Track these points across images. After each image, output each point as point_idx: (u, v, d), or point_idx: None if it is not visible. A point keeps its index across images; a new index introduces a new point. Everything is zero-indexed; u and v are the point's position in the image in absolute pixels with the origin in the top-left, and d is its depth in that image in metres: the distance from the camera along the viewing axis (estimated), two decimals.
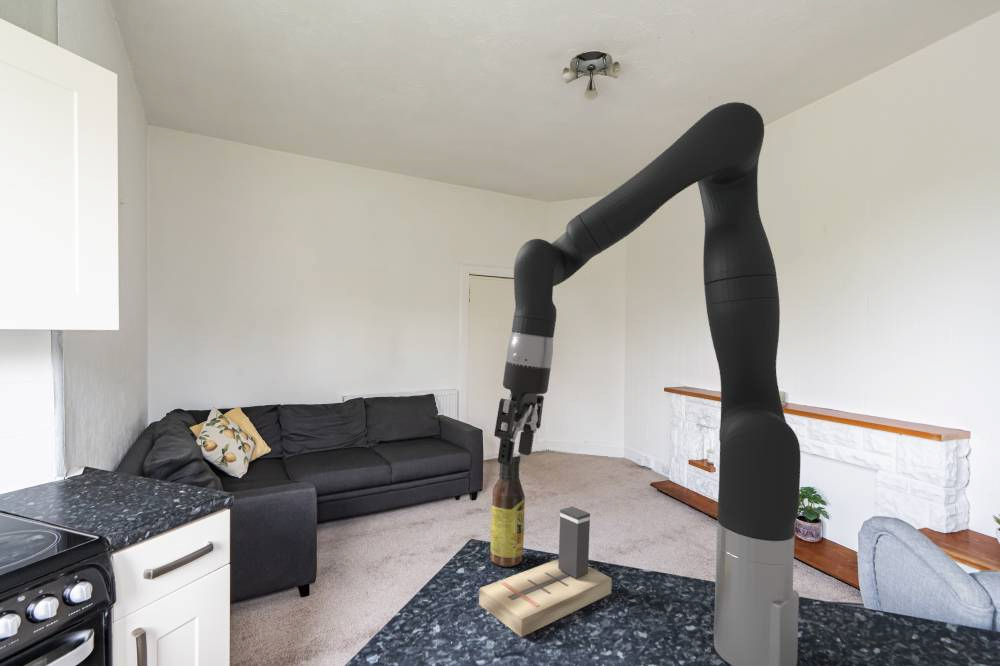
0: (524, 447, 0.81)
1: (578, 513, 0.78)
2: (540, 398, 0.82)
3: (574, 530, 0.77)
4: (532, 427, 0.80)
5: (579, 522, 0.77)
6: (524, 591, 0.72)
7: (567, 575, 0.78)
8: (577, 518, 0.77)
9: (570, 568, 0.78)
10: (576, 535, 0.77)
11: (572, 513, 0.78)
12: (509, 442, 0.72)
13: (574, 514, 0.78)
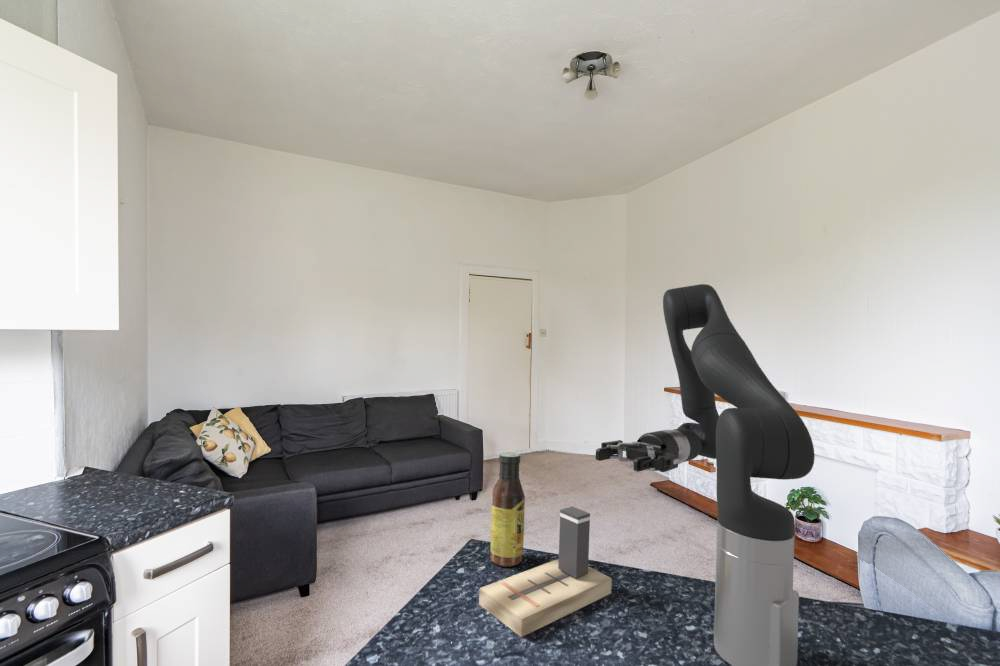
0: None
1: (578, 513, 0.78)
2: None
3: (574, 530, 0.77)
4: (648, 455, 0.87)
5: (579, 522, 0.77)
6: (524, 591, 0.72)
7: (567, 575, 0.78)
8: (577, 518, 0.77)
9: (570, 568, 0.78)
10: (576, 535, 0.77)
11: (572, 513, 0.78)
12: None
13: (574, 514, 0.78)
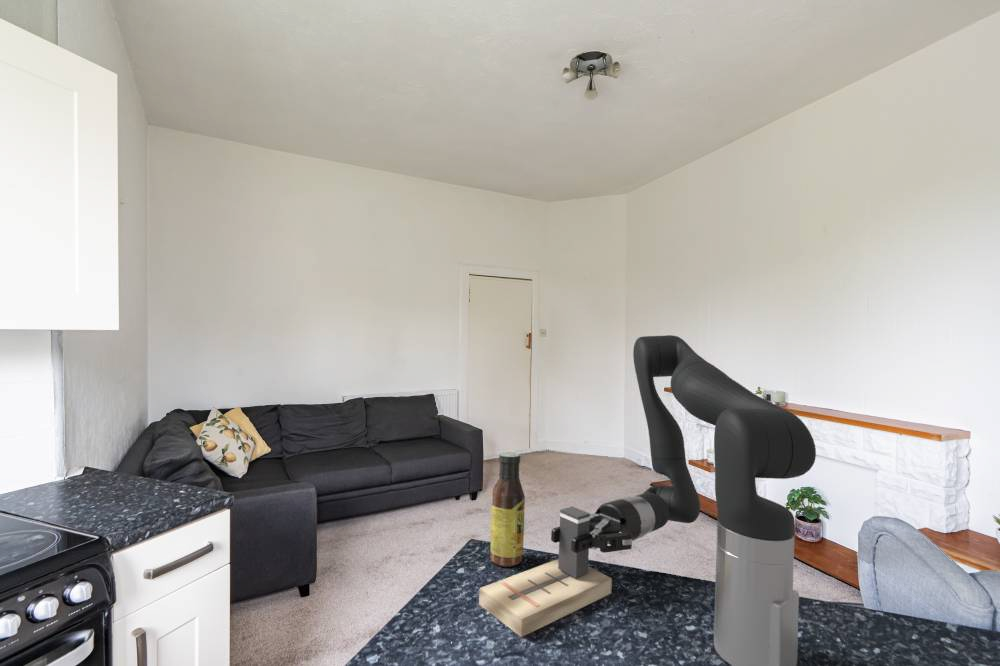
0: None
1: (578, 513, 0.78)
2: None
3: (573, 530, 0.77)
4: (593, 531, 0.79)
5: (579, 522, 0.77)
6: (524, 591, 0.72)
7: (567, 575, 0.78)
8: (577, 518, 0.77)
9: (570, 568, 0.78)
10: (576, 535, 0.77)
11: (572, 513, 0.78)
12: None
13: (574, 514, 0.78)
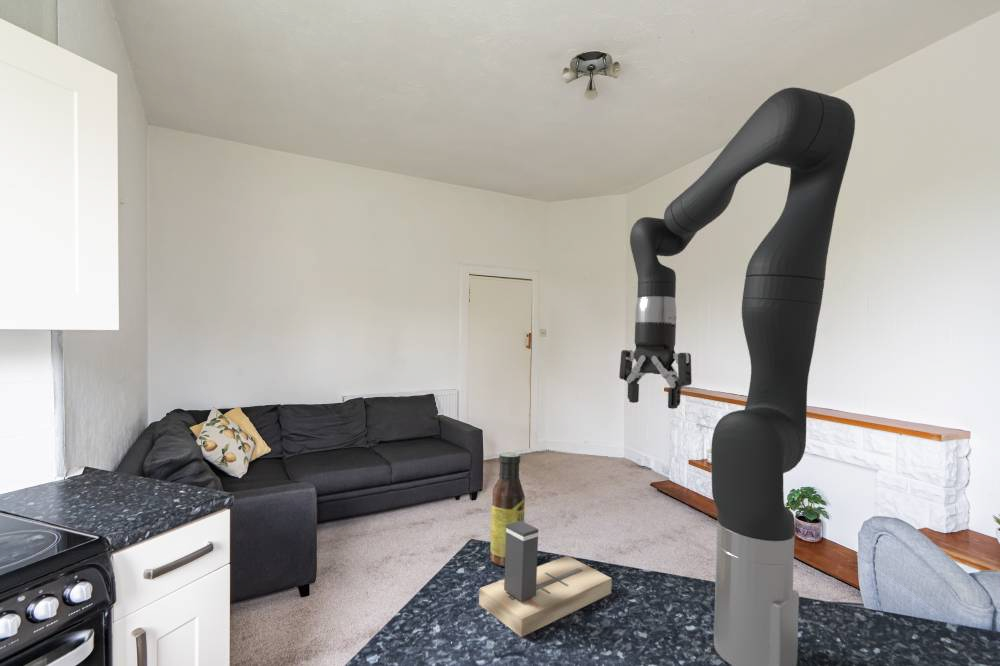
0: None
1: (525, 529, 0.71)
2: (678, 355, 0.85)
3: (519, 547, 0.70)
4: (667, 381, 0.87)
5: (525, 539, 0.70)
6: None
7: (567, 575, 0.78)
8: (523, 535, 0.69)
9: (515, 590, 0.70)
10: (521, 554, 0.69)
11: (518, 529, 0.71)
12: (628, 383, 0.94)
13: (520, 530, 0.71)
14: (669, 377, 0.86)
